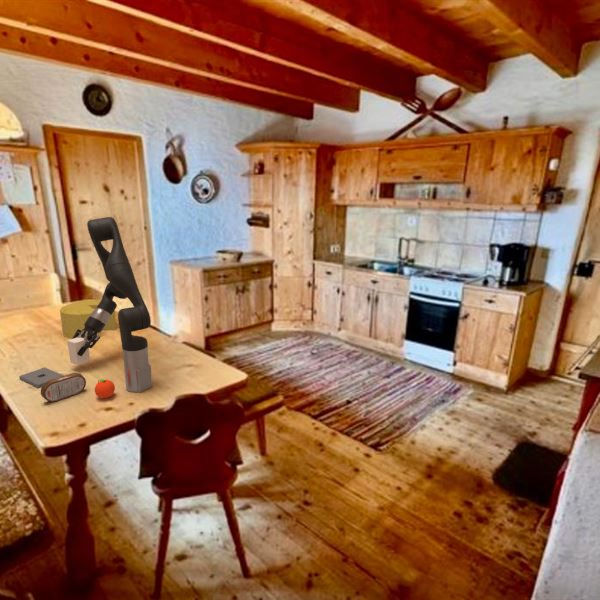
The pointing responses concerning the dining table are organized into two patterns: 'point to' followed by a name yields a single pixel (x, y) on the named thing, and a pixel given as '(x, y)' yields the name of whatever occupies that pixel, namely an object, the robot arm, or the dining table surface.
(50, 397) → the tin
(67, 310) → the cheese
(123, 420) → the dining table surface
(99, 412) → the dining table surface
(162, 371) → the dining table surface
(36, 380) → the slate board
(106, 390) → the clementine
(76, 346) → the block
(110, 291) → the robot arm
